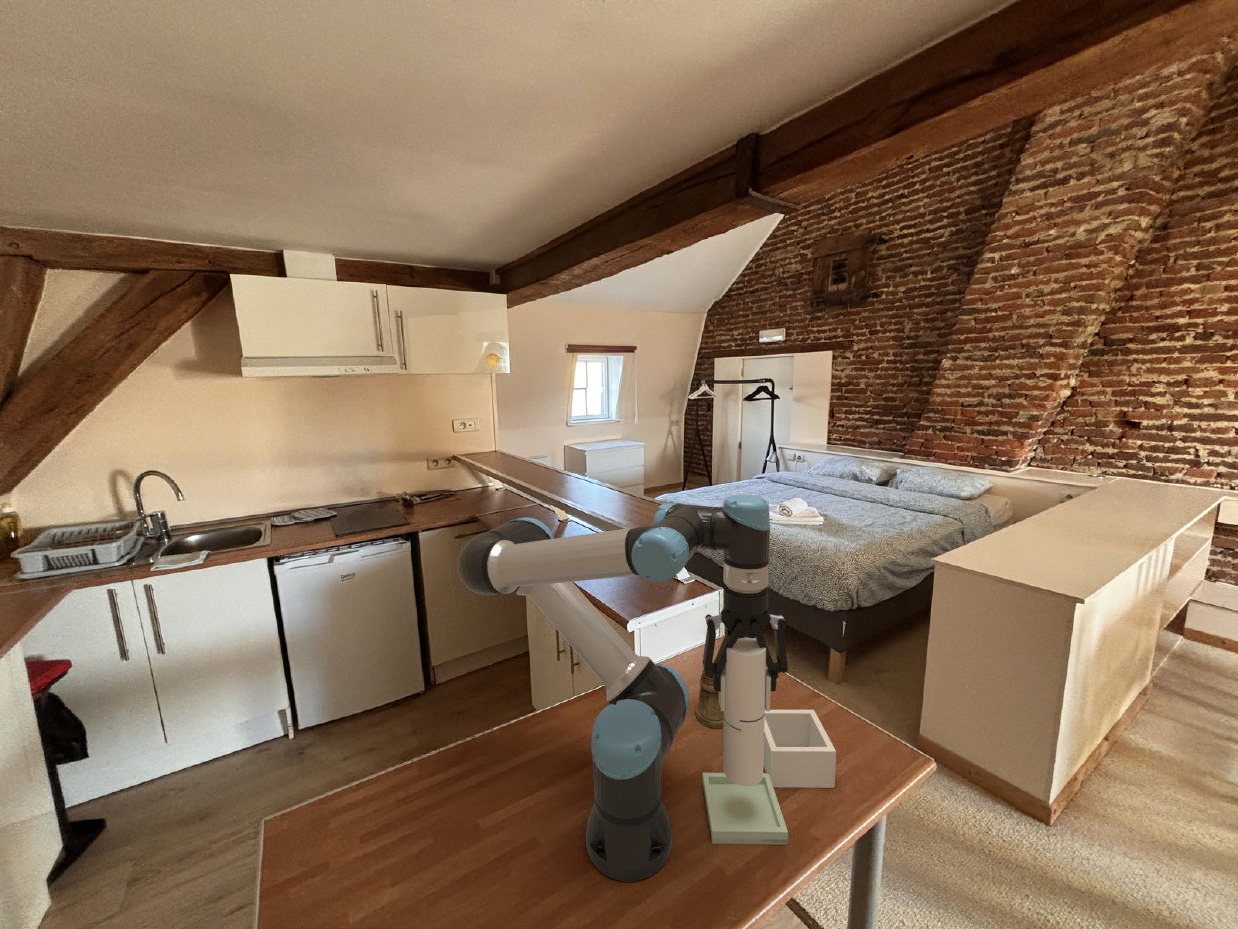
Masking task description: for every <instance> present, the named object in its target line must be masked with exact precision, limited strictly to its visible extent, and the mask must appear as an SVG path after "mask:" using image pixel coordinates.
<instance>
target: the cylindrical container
mask: <svg viewBox="0 0 1238 929" xmlns="http://www.w3.org/2000/svg"><path fill="white" fill-rule="evenodd" d="M766 669H767V665H766V648H760V647H759V644H758V642H757V640H756V638H747V637H745V638H738V639H737V642H736V644H734V646H733V648H727V662H726V665H725V667H724V674H725V677H726V696H725V711H724V728H723V737H722V738H723V745H722V746H723V752H722V753H723V754H722V755H723V756H722V758H723V759H722V760H723V763H722V765H723V767H722V769H723V773H725V775H726V777H727V778H728V779H729V780H731V781H732V782H733V783H735V784H738V785H741V786H754V785H756V784H758V783H759V782H761V780H762V779H763V773H764V765H763V764H764V718H765V672H766Z"/></svg>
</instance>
